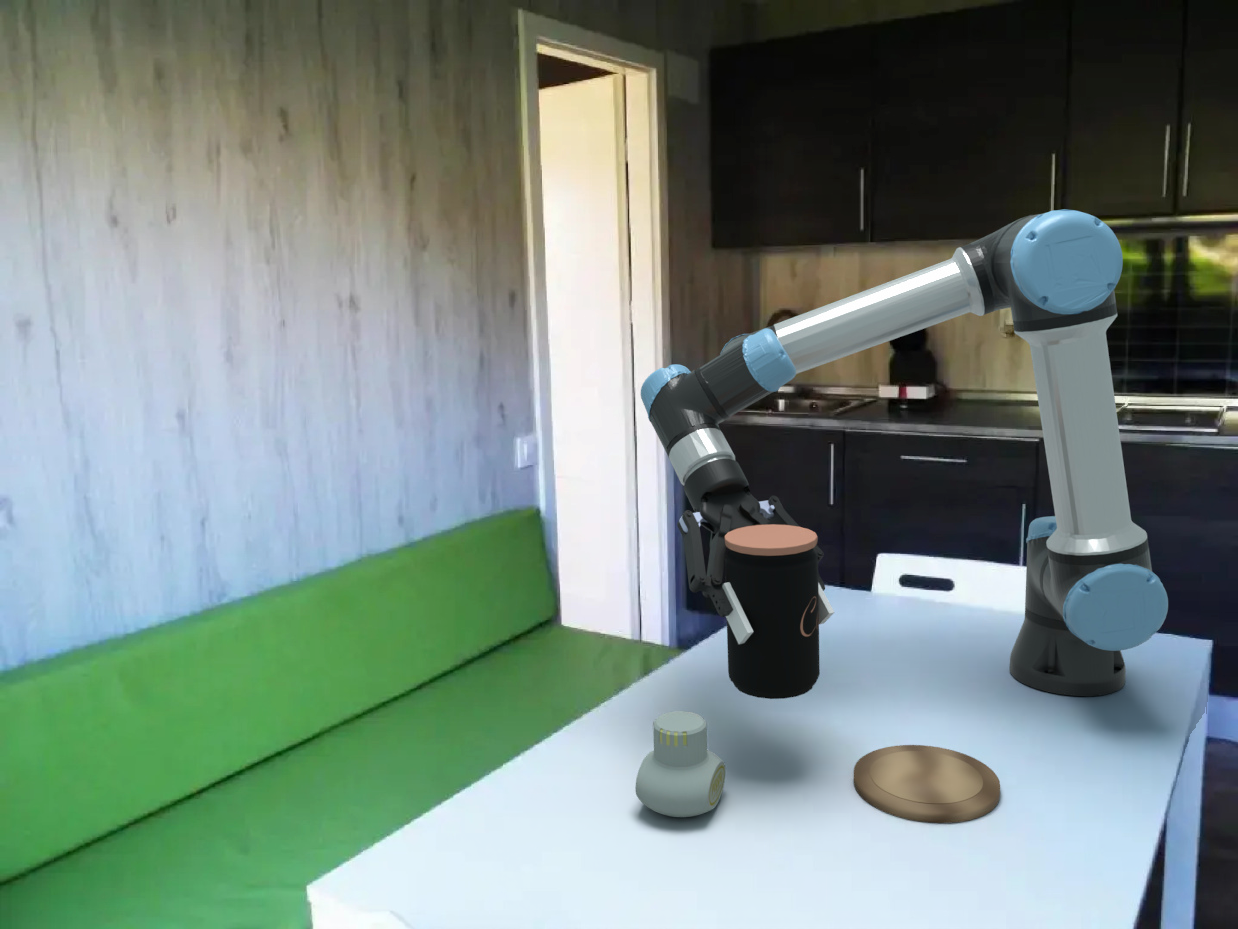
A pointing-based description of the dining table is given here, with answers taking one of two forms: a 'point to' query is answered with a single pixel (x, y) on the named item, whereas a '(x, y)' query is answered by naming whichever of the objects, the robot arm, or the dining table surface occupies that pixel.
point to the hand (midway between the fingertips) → (787, 628)
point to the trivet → (926, 783)
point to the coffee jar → (774, 610)
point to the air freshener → (680, 768)
